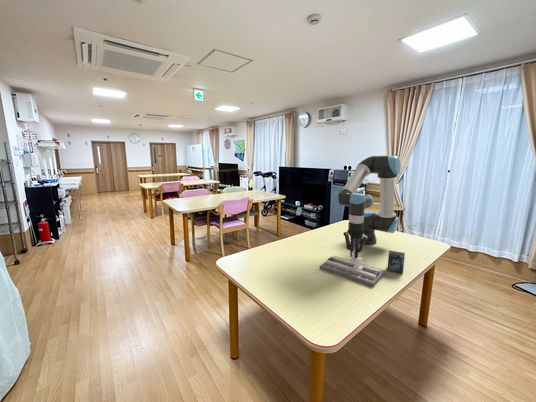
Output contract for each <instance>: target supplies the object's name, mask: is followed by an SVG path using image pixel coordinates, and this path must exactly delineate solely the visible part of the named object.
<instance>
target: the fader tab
mask: <svg viewBox="0 0 536 402" xmlns="http://www.w3.org/2000/svg"><path fill="white" fill-rule="evenodd" d="M362 264H363V258H362V257H361V256H358V257H357V258H356V264H355V266H354V267H353V268H356V269H359V270H363V266H362Z"/></svg>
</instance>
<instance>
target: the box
mask: <svg viewBox="0 0 536 402" xmlns="http://www.w3.org/2000/svg"><path fill="white" fill-rule="evenodd" d="M405 257H406V255H405V252H402V251H401V252H400V251H396V250H388V260H387V267H386V270H387V272H391V273H392V272H393V273H397V274H401V275H403V274H404V266H405Z"/></svg>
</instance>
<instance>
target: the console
mask: <svg viewBox="0 0 536 402" xmlns="http://www.w3.org/2000/svg"><path fill="white" fill-rule="evenodd" d="M355 264H356V263H355ZM355 264H352V263H351V260H350V259H348V258H347V259H346V258H343V257H340V256H336V255H333V256H332V255H331V256H330V257H329V258H327V259H326V260H325V262H323V263H322V264H320V265H319V269H320V270H322V271H326V272H328V273H331V274H334V275H336V276H340V277H343V278H345V279H347V280H351V281H355V282H357V283H359V284H363V285H366V286H368V287H371V288H374V287H375V286H376V285H377V284H378V283H379V282H380V280H381V279H382V278H383V277H384V276H385V275H386V270H384V269H381V268H379V267H378V268H377V267H374V266H371V265H367V264H364V263H362V266H363V270H359V269H356V268H353V267H354V266H355Z"/></svg>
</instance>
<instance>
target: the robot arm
mask: <svg viewBox="0 0 536 402" xmlns="http://www.w3.org/2000/svg"><path fill="white" fill-rule="evenodd" d="M401 167H402V164H401V160H400V158H399V157H398V156H396V155H371V156H369V157H367V158H365V159H363V160H362V161H360V162H359V163H358V164H357V165H356V167H355V171H354V172H353V174H352V175H351V177H350V178H349V180H348V181H346V184H345V185H344V186H343V188H342V189H341V190H340V192H339V191H337V192H334V193H333V194H332V197H331V199H332V200H331V201H332V203H333V204H334V205H336V206H343V207H348V208H349V209H348V211H349V212H348V229H347V231H344V232H343V233H342V234H343V236H344V239H345V246H346V249H347V250H348V251H350V252H349V255H350V256H349V257H350V258H351V260H350V261H351V263H352V264H355V263H356V258H357V257H359V254H360V253H362V251H363V249H364V245H365V246H366V245H367V246H368V245H369V246H371V245H376V244H377V241H378V240H377V236H376V232H375V231H378V232H384V233H387V234H389V233H390V234H394V233H395V232H397V229H398V226H399V222H400V217H398V216H397V214H396V212H394V211H395V210H394V209H395V180H396V178H397V176H398V175H399V174H400V173H401V169H402V168H401ZM370 174H371V175H372V174H377V178H378V179H379V211H375V210H367V209H368V208H370V207H372V206H373V204H374V200H375V199H374V197H373V196H372V195H371V194H367V193H366V194H365V193H362V192H357V190H358V189H359V188H360V186H361V185H362V183H363V182H364V180H365V179H366V177H368V176H369V175H370ZM365 209H366V211H365Z"/></svg>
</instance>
